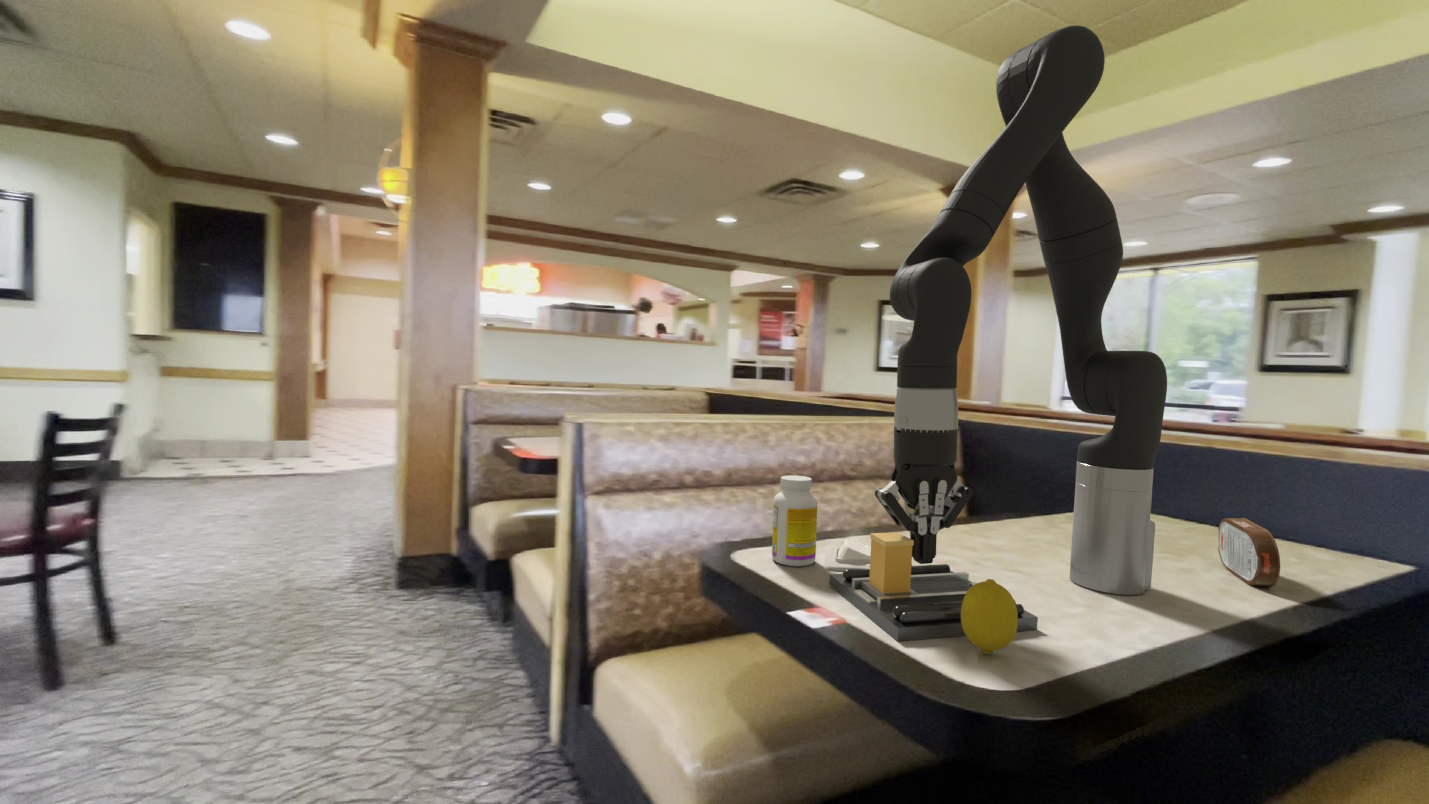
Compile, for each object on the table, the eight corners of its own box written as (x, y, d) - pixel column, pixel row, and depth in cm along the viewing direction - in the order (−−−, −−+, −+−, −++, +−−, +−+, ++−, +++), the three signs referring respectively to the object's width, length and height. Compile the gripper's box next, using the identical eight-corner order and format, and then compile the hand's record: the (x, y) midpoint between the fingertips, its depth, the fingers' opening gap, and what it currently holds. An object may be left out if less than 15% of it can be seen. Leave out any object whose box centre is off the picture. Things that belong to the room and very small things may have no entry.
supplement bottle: (824, 562, 97) (827, 479, 97) (796, 570, 93) (799, 483, 92) (790, 552, 102) (793, 472, 101) (762, 559, 98) (765, 476, 97)
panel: (945, 578, 91) (946, 558, 91) (1036, 629, 74) (1038, 605, 74) (829, 585, 87) (830, 564, 87) (897, 641, 70) (898, 615, 69)
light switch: (825, 532, 104) (906, 534, 102) (825, 557, 104) (907, 559, 102) (823, 551, 94) (914, 553, 91) (823, 578, 94) (914, 582, 91)
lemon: (1026, 665, 65) (1031, 588, 64) (974, 666, 64) (978, 588, 64) (998, 642, 70) (1002, 571, 70) (949, 642, 70) (953, 570, 69)
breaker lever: (897, 586, 82) (899, 531, 82) (917, 599, 77) (920, 541, 77) (861, 588, 81) (864, 532, 80) (880, 602, 76) (883, 543, 76)
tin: (1280, 595, 89) (1285, 535, 88) (1252, 592, 90) (1257, 533, 89) (1235, 565, 103) (1239, 513, 102) (1212, 562, 104) (1215, 511, 104)
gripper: (954, 420, 84) (950, 549, 85) (862, 422, 81) (860, 557, 82) (992, 426, 77) (987, 567, 78) (893, 429, 74) (890, 576, 75)
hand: (922, 561), depth 80 cm, fingers closed
